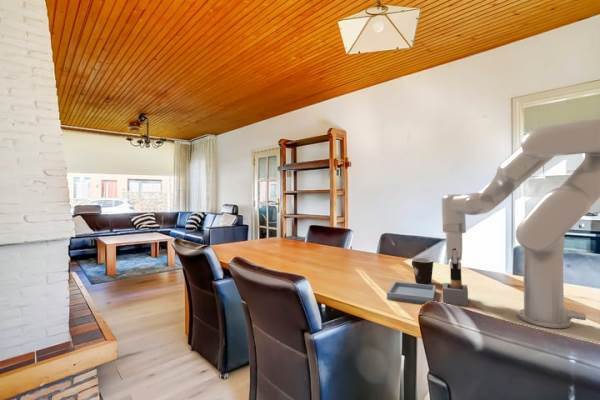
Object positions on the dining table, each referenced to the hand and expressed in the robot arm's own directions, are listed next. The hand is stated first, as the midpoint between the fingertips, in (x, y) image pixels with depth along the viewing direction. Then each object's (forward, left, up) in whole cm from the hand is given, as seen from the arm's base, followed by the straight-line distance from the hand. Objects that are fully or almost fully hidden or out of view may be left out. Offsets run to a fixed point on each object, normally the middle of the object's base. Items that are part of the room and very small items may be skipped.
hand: (455, 277), depth 112 cm
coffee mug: (+13, -21, -9) cm, 26 cm away
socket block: (0, 0, -8) cm, 8 cm away
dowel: (0, 0, -6) cm, 6 cm away
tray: (+15, 0, -8) cm, 18 cm away
